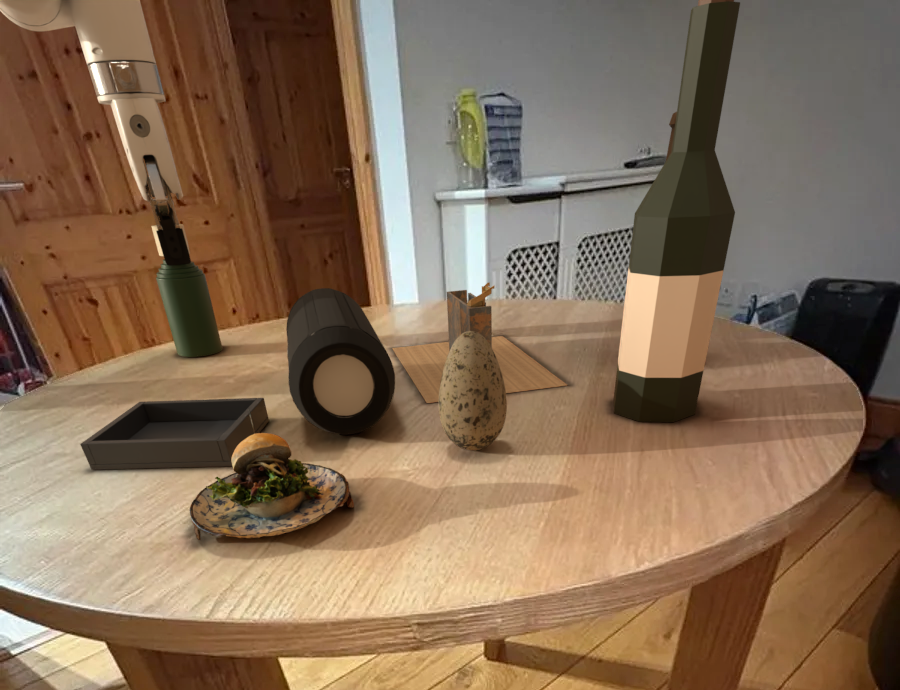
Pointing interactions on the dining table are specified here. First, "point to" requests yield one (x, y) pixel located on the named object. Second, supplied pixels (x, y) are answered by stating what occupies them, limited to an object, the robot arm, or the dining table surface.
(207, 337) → the bottle
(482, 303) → the architectural model on board
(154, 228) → the cap
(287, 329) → the portable speaker
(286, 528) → the burger
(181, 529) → the dining table surface
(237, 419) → the tray
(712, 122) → the wine bottle
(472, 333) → the decorative egg
